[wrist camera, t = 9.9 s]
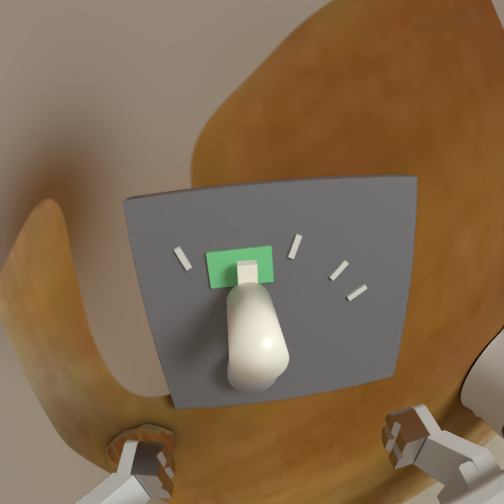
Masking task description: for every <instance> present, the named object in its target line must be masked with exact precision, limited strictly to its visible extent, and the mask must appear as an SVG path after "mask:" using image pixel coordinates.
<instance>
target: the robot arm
mask: <svg viewBox="0 0 504 504" xmlns="http://www.w3.org/2000/svg"><path fill="white" fill-rule="evenodd" d="M461 402H462V404H463V405H464V406H465V407H467V408H469V409H470V410H472V411H473V413H474V414H475V415H476V416H477V417H480V418H482V419H483V420H484V421H485V422H486V423H487V424H488V425H489V426H490V427H491V428H492V429H493V430H494V431H495V432H496V433H497V434H498V435H499V436H500V437H502V438H503V439H504V329H503V330H502V331H501V332H500V333H499V335H498V336H497V337H496V338H495V339H494V340H493V341H492V342H491V343H490V344H489V345H488V347H487V348H486V349H485V350H484V352H483V353H482V354H481V356H480V357H479V358H478V360H477V361H476V363H475V364H474V366H473V368H472V369H471V371H470V373H469V374H468V376H467V378H466V380H465V383H464V385H463V388H462V392H461ZM385 421H386V423H387V424H386V425H385V426H384V427H383V429H382V442H383V445H384V447H385V449H387V450H388V451H390V455H389V459H390V461H391V463H392V465H393V467H394V469H397V468H400V467H404V466H407V465H410V464H413V463H414V465H415V466H417V467H418V468H420V469H421V470H423V471H424V472H426V473H427V474H429V475H430V476H432V477H433V478H435V479H436V480H438V481H439V482H441V483H442V484H444V485H445V487H444V488H443V489H442V490H441V492H440V493H439V494H438V496H437V497H438V500H439V502H440V504H504V470H501V469H500V467H499V465H498V464H497V462H496V461H495V459H494V458H493V456H492V455H491V453H490V452H489V450H487V449H486V448H483V447H481V446H479V445H476V444H474V443H472V442H470V441H467V440H465V439H463V438H461V437H458V436H456V435H454V434H452V433H450V432H448V431H446V430H444V431H441V429H440V428H439V426H438V425H437V423H436V421H435V420H434V418H433V417H432V415H431V414H430V412H429V411H428V409H427V408H426V406H425V405H424V404H420V405H417V406H414V407H411V408H407V409H404V410H401V411H397V412H394V413H391V414H388V415H387V416H386V419H385ZM168 449H169V447H168V445H167V443H166V442H149V441H136V440H127V441H126V442H125V444H124V447H123V451H122V454H121V458H120V461H119V465H118V469H117V473H112V474H111V475H110V476H108V477H107V478H106V479H105V480H104V481H103V482H101V483H100V484H99V485H98V486H96V487H95V488H94V489H93V490H92V491H90V492H89V493H88V494H87V495H85V496H84V497H83V498H82V499H80V500H79V501H78V502H77V503H75V504H147V502H148V501H149V500H150V499H151V498H150V497H153V498H172V493H173V483H172V481H171V480H170V479H171V478H172V477H174V476H175V461H174V457H173V455H172V454H171V453H170V452H168Z"/></svg>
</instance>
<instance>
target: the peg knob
mask: <svg viewBox="0 0 504 504" xmlns="http://www.w3.org/2000/svg"><path fill="white" fill-rule="evenodd" d="M237 277H238V285H237V286H235V287H234V288H233V289H232V290H231V291H230V293H229V294H228V297H227V324H228V346H229V356H228V359H227V374H228V381H229V383H230V384H231V385H232V386H233V387H234V388H235V389H237V390H239V391H241V392H246V393H255V392H260V391H263V390H265V389H267V388H269V387H270V386H271V385H272V384H273V383H274V382H275V380H276V378H277V377H278V376H279V375H281V374H282V373H283V372H284V370H285V369H286V367H287V365H288V362H289V353H288V350H287V347H286V344H285V340H284V337H283V334H282V331H281V328H280V325H279V321H278V318H277V315H276V312H275V309H274V306H273V302H272V299H271V296H270V293H269V292H268V290H267V289H266V288H265V287H264V286H263V285H261V284H259V283H258V271H257V262H256V260H245V261H237Z"/></svg>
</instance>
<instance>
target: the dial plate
mask: <svg viewBox="0 0 504 504" xmlns="http://www.w3.org/2000/svg"><path fill="white" fill-rule="evenodd" d="M123 204H124V210H125V216H126V222H127V227H128V233H129V238H130V243H131V248H132V253H133V258H134V263H135V267H136V272H137V276H138V281H139V285H140V289H141V294H142V298H143V302H144V306H145V310H146V314H147V317H148V321H149V325H150V329H151V332H152V336H153V339H154V343H155V346H156V350H157V353H158V357H159V360H160V363H161V366H162V370H163V373H164V376H165V379H166V382H167V385H168V387H169V391H170V394H171V397H172V400H173V403H174V406H175V408H176V409H188V408H206V407H220V406H231V405H241V404H251V403H259V402H267V401H274V400H281V399H288V398H294V397H300V396H306V395H312V394H317V393H322V392H328V391H332V390H337V389H342V388H347V387H351V386H355V385H360V384H364V383H368V382H372V381H376V380H380V379H384V378H387V377H391V376H393V375H394V371H395V366H396V362H397V357H398V352H399V348H400V343H401V337H402V332H403V327H404V321H405V315H406V309H407V302H408V295H409V288H410V280H411V271H412V262H413V252H414V240H415V225H416V204H417V177H416V176H412V175H408V174H385V175H351V176H329V177H311V178H295V179H281V180H269V181H257V182H246V183H236V184H226V185H216V186H208V187H199V188H191V189H183V190H175V191H168V192H161V193H153V194H146V195H139V196H133V197H129V198H127V199H125V200H124V201H123ZM245 260H256V262H257V271H258V283H259V284H261V285H263V286H264V287H265V288H266V289H267V290H268V292H269V293H270V296H271V299H272V302H273V306H274V309H275V312H276V315H277V318H278V321H279V325H280V328H281V331H282V334H283V337H284V340H285V344H286V347H287V350H288V353H289V362H288V365H287V367H286V369H285V370H284V372H283V373H282V374H281V375H279V376H278V377H277V378H276V380H275V382H274V383H273V384H272V385H271V386H270V387H269V388H267V389H265V390H263V391H260V392H255V393H246V392H241V391H239V390H237V389H235V388H234V387H233V386H232V385H231V384H230V383H229V381H228V374H227V359H228V356H229V346H228V324H227V297H228V294H229V293H230V291H231V290H232V289H233V288H234V287H235V286H237V285H238V277H237V261H245Z"/></svg>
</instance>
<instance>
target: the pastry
mask: <svg viewBox="0 0 504 504" xmlns="http://www.w3.org/2000/svg"><path fill="white" fill-rule="evenodd" d="M127 440H136V441H149V442H166V443H167V445H168V447H169V449H168V452H170V453H171V454H172V455H173V450H174V448H175V439H174V434H173V433H172V432H171V431H168V430H166V429H164V428H162V427H159V426H155V425H151V424H143V425H141V426H140V427H135V428H132V429H126V430H123V431H122V433H121V434H120V435H118V436H117V437H116V438H115V439H114V440H113V441H112V442H111V443H110V444H109V445H108V446H107V447H106V448H105V453H106V455H107V458H108V461H109V463H110V464H111V468H112V469H113V470H114V472H115V473H117V469H118V465H119V461H120V458H121V454H122V451H123V447H124V444H125V442H126V441H127Z"/></svg>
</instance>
